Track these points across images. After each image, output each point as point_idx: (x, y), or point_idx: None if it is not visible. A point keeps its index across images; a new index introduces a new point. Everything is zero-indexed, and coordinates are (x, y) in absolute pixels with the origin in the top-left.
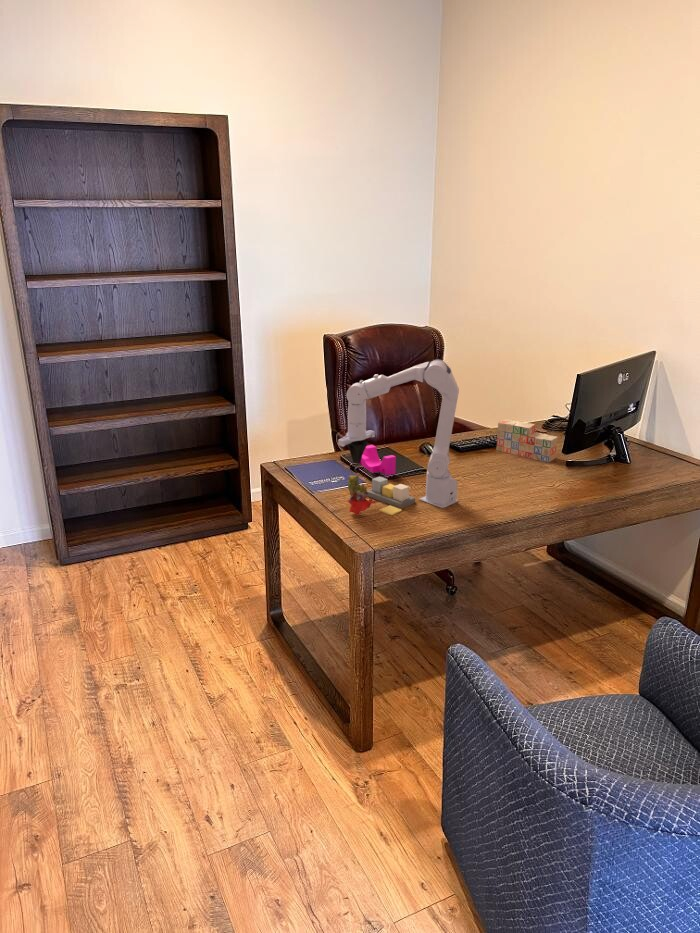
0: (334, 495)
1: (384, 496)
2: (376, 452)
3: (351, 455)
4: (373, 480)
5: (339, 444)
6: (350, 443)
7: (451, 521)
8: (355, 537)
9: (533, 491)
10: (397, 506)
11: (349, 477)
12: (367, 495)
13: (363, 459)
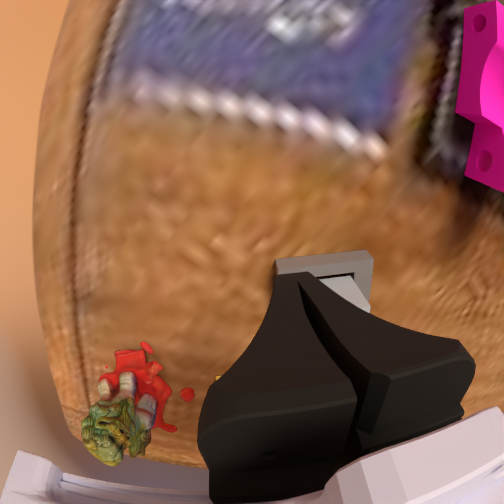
0: (163, 172)
1: None
2: None
3: (269, 307)
4: None
5: (26, 472)
6: (215, 482)
7: None
8: (83, 415)
9: (496, 405)
10: None
11: (84, 444)
12: (276, 272)
13: (495, 42)
